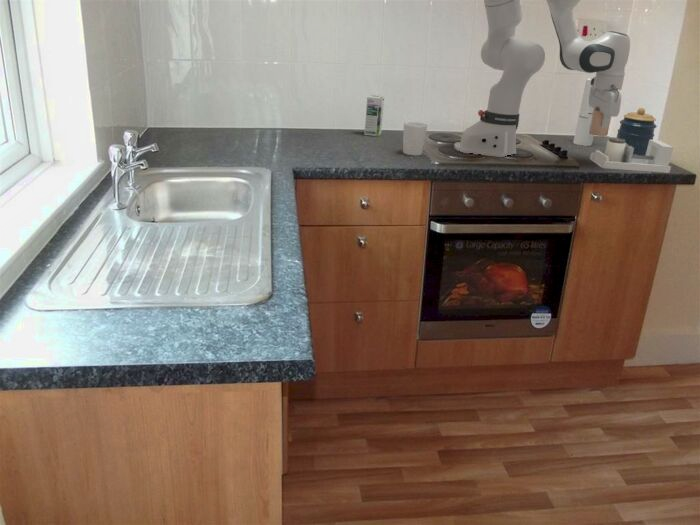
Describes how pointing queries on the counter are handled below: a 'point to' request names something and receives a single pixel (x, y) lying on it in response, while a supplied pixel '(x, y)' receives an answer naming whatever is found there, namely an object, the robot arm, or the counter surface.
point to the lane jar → (615, 149)
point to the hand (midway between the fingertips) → (599, 125)
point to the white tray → (654, 148)
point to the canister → (637, 130)
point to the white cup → (414, 138)
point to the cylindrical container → (584, 119)
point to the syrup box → (374, 115)
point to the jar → (598, 123)
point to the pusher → (633, 155)
